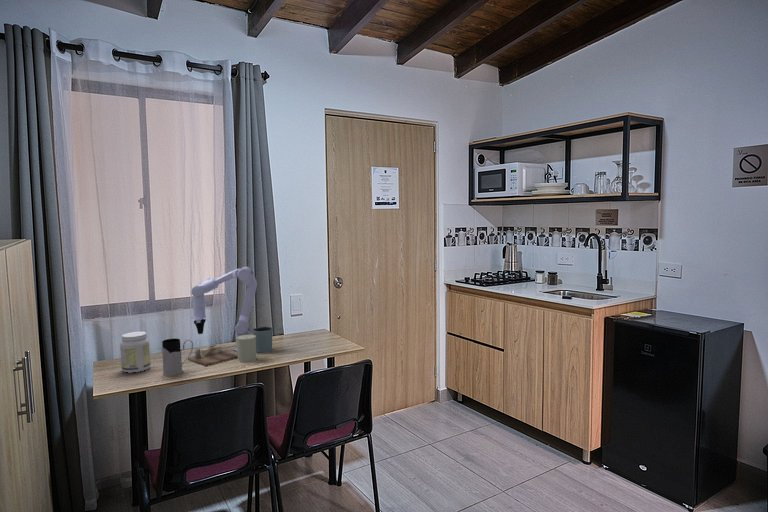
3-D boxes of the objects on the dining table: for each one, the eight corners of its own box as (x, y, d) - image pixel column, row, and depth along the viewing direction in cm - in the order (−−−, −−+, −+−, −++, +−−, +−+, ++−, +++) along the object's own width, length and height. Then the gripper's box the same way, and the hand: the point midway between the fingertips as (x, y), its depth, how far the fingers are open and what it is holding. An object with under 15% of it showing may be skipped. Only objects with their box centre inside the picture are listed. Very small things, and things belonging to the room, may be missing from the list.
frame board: (220, 351, 258) (220, 342, 257) (238, 357, 247) (238, 347, 246) (187, 360, 244) (187, 349, 244) (205, 366, 233) (205, 355, 233)
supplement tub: (143, 363, 239) (141, 329, 238) (155, 368, 231) (153, 333, 230) (117, 370, 230) (114, 334, 228) (128, 375, 222) (126, 338, 220)
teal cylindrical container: (276, 348, 262) (275, 326, 261) (269, 354, 252) (268, 331, 251) (257, 348, 263) (256, 326, 262) (250, 353, 253) (249, 331, 252)
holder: (159, 372, 225) (157, 340, 223) (190, 365, 235) (188, 335, 233) (166, 377, 218) (164, 344, 217) (198, 369, 228) (196, 338, 227)
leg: (203, 356, 245) (203, 350, 245) (201, 355, 247) (201, 349, 246) (220, 351, 253) (220, 346, 253) (218, 351, 254) (218, 345, 254)
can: (237, 363, 237) (236, 338, 236) (237, 358, 246) (236, 334, 245) (257, 361, 240) (256, 337, 239) (256, 356, 248) (255, 332, 247)
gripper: (192, 306, 262) (194, 331, 263) (189, 311, 248) (190, 337, 249) (206, 305, 263) (208, 330, 264) (204, 310, 249) (205, 336, 250)
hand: (200, 333), depth 257 cm, fingers closed
